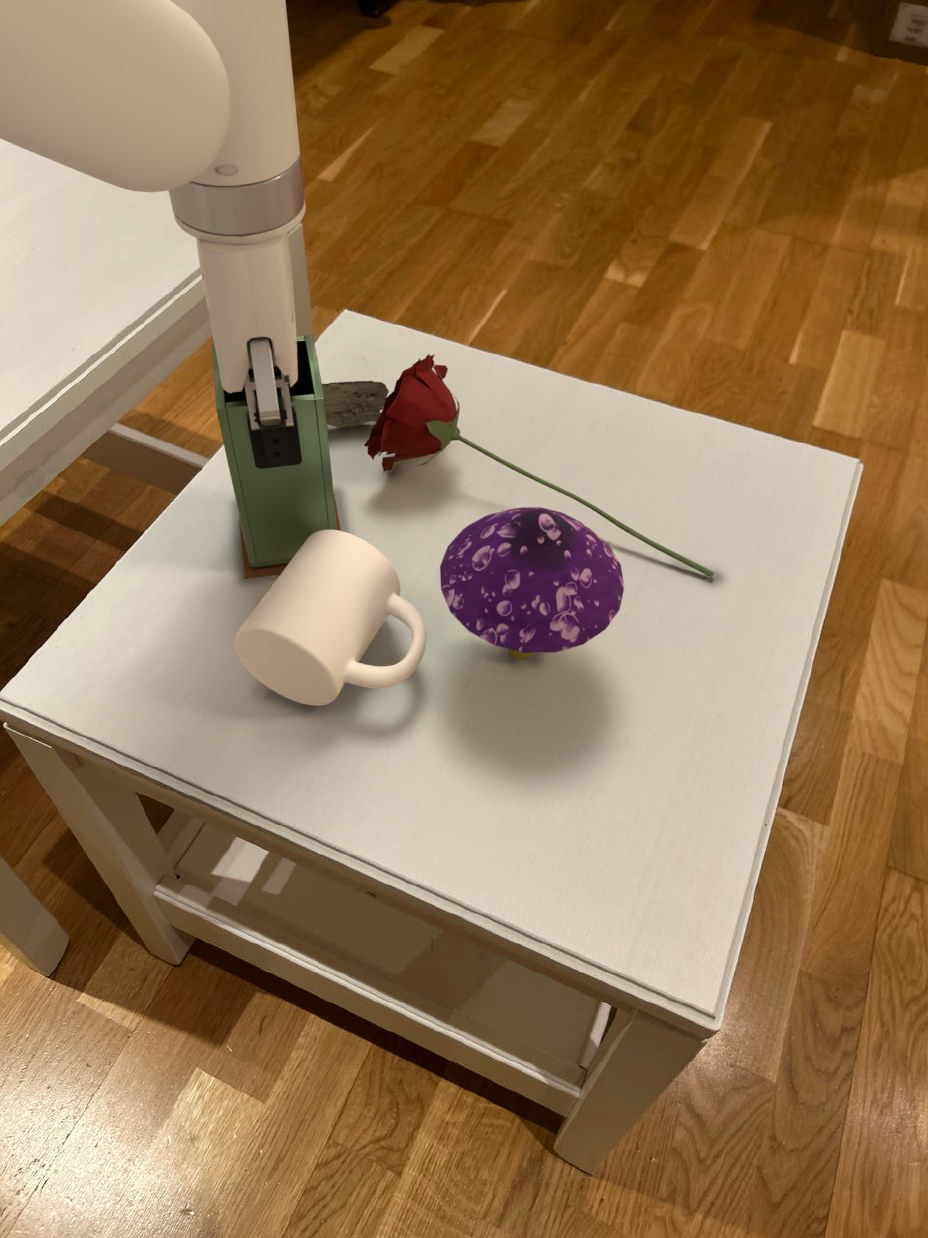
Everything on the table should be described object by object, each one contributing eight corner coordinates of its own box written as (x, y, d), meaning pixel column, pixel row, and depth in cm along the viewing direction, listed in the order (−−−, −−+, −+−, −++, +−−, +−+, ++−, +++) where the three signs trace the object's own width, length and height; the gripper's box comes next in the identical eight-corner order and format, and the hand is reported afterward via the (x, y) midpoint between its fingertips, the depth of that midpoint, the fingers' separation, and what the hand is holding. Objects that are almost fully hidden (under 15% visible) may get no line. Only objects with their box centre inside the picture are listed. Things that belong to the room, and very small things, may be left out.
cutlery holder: (250, 569, 73) (216, 409, 61) (245, 505, 77) (211, 343, 65) (339, 557, 74) (324, 398, 62) (329, 495, 78) (313, 334, 66)
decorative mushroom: (408, 686, 68) (406, 549, 56) (477, 568, 75) (489, 424, 63) (568, 752, 65) (603, 622, 53) (625, 622, 72) (666, 482, 60)
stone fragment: (279, 434, 83) (275, 389, 79) (279, 428, 83) (275, 384, 79) (388, 425, 85) (389, 382, 81) (387, 420, 85) (388, 377, 81)
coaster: (244, 579, 73) (244, 577, 73) (238, 506, 78) (238, 504, 78) (346, 566, 74) (346, 564, 74) (334, 495, 79) (334, 493, 79)
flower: (721, 582, 68) (366, 390, 71) (665, 655, 77) (351, 481, 79) (761, 490, 74) (434, 317, 77) (705, 567, 83) (412, 409, 86)
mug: (242, 681, 67) (224, 613, 61) (310, 584, 73) (300, 513, 67) (391, 742, 65) (388, 679, 59) (450, 638, 71) (453, 569, 64)
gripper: (166, 116, 57) (215, 356, 72) (171, 277, 47) (227, 520, 61) (289, 110, 59) (313, 347, 73) (320, 266, 48) (341, 507, 63)
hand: (274, 425), depth 67 cm, fingers closed on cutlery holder, 7 cm apart
